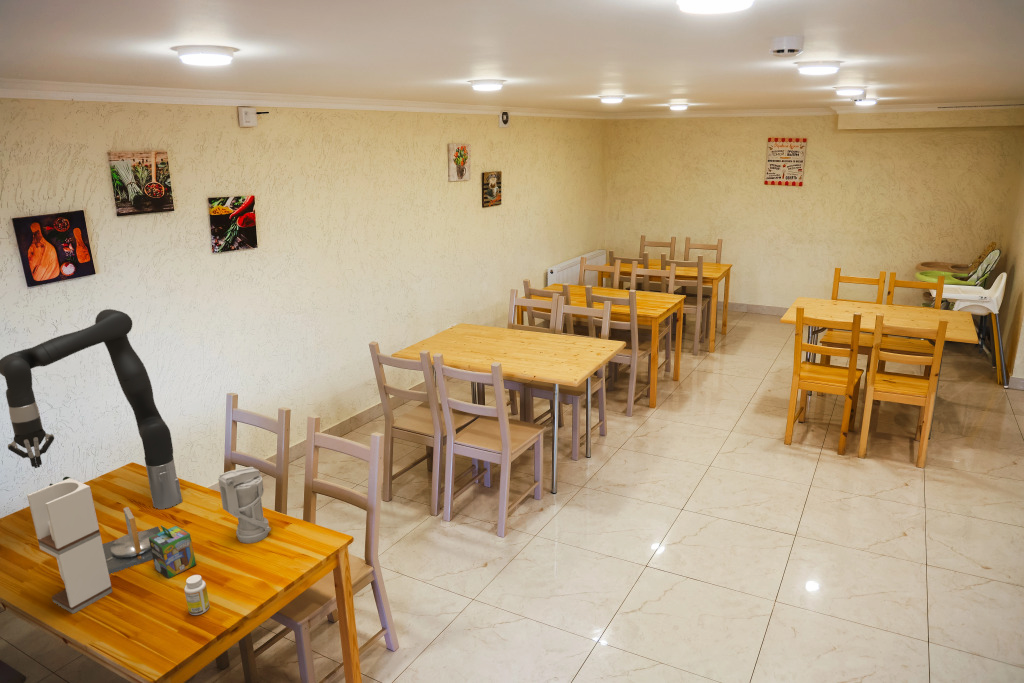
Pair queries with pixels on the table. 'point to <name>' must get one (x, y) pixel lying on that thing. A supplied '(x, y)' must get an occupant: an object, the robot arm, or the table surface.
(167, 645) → the table surface
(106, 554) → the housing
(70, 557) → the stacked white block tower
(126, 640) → the table surface
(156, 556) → the chalk box
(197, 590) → the supplement bottle
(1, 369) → the robot arm
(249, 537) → the gray strapped canister
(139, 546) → the dial
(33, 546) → the table surface
